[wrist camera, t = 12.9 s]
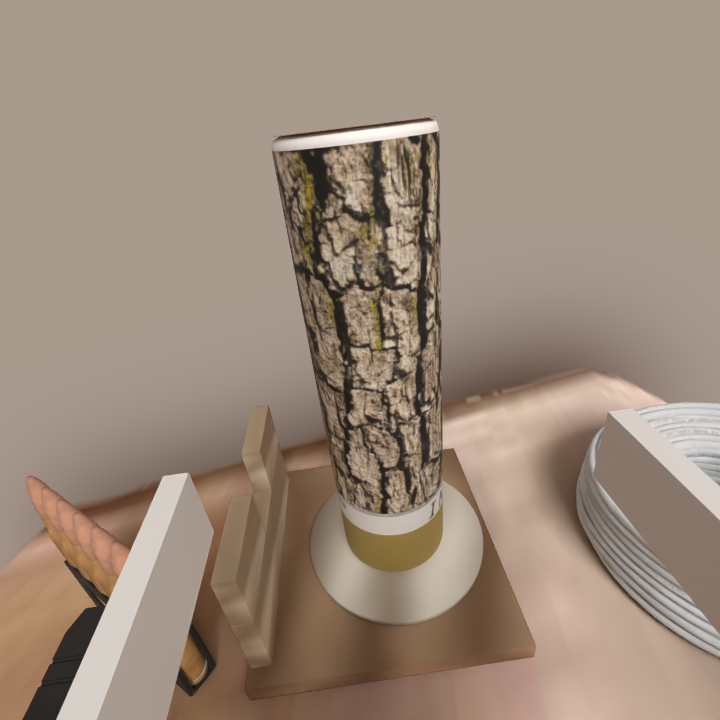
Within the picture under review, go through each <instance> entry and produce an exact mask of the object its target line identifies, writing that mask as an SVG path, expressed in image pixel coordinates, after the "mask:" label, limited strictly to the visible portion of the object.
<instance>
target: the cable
mask: <svg viewBox="0 0 720 720" xmlns="http://www.w3.org/2000/svg"><path fill="white" fill-rule="evenodd" d="M636 412H637V413H638V414H639V415H640V416H641V417H642V418H643V419H645V420H646V421H647V422H648V423H649V424H650V425H651V426H652V427H654V428H655V429H656V430H657V431H658V432H659V433H660V434H661V435H663V436H664V437H665V438H666V439H667V440H668V441H669V442H670V443H672V444H673V445H674V446H675V447H676V448H677V449H678V450H679V451H681V452H682V453H683V454H684V455H685V456H686V457H687V458H688V459H690V460H691V461H692V462H693V463H694V464H695V465H696V466H697V467H699V468H700V469H701V470H702V471H703V472H704V473H705V474H706V475H708V476H709V477H710V478H711V479H712V480H713V481H714V482H715V483H717V484H718V485H719V486H720V404H715V403H671V404H664V405H656V406H651V407H646V408H643V409H639V410H636ZM604 427H605V425H604V426H603V427H602V428H601V429H600V430H599V431H598V432H597V433H596V434H595V436H594V437H593V439H592V441H591V442H590V445H589V447H588V450H587V452H586V455H585V459H584V462H583V464H582V467H581V472H580V475H579V478H578V482H577V488H576V496H577V497H576V504H577V511H578V515H579V519H580V522H581V524H582V526H583V528H584V530H585V532H586V534H587V535H588V537H589V540H590V541H591V543H592V545H593V547H594V549H595V550H596V552H597V554H598V555H599V557H600V559H601V560H602V562H603V563H604V565H605V566H606V568H607V569H608V570H609V572H610V573H611V574H612V576H613V577H614V578H615V579H616V580H617V581H618V583H619V584H620V585H621V586H622V587H623V588H624V589H625V590H626V591H627V593H628V594H629V595H630V596H631V597H633V598H634V599H635V600H636V601H637V602H638V603H639V604H640V605H641V606H642V607H643V608H644V609H646V610H647V611H648V612H649V613H650V614H651V615H652V616H654V617H655V618H656V619H658V620H659V621H660V622H661V623H663V624H664V625H665V626H667V627H668V628H670V629H671V630H673V631H674V632H676V633H677V634H679V635H680V636H682V637H683V638H685V639H687V640H688V641H690V642H691V643H693V644H695V645H697V646H698V647H700V648H702V649H704V650H706V651H707V652H709V653H711V654H713V655H715V656H717V657H719V658H720V635H719V633H718V632H717V631H716V630H715V628H714V627H713V626H712V625H711V623H710V622H709V621H708V620H707V618H706V617H705V616H704V614H703V613H702V612H701V611H700V609H699V608H698V607H697V606H696V604H695V603H694V602H693V601H692V599H691V598H690V597H689V596H688V594H687V593H686V592H685V591H684V589H683V588H682V587H681V586H680V584H679V583H678V582H677V581H676V579H675V578H674V577H673V576H672V574H671V573H670V572H669V570H668V569H667V568H666V567H665V565H664V564H663V563H662V562H661V560H660V559H659V558H658V557H657V555H656V554H655V553H654V552H653V550H652V549H651V548H650V547H649V545H648V544H647V543H646V542H645V540H644V539H643V538H642V537H641V535H640V534H639V533H638V531H637V530H636V529H635V528H634V526H633V525H632V524H631V523H630V521H629V520H628V519H627V518H626V516H625V515H624V514H623V513H622V511H621V510H620V509H619V508H618V506H617V505H616V504H615V503H614V501H613V500H612V499H611V498H610V496H609V495H608V494H607V492H606V491H605V490H604V489H603V487H602V486H601V485H600V484H599V482H598V481H597V480H596V479H595V477H594V476H593V472H594V468H595V464H596V460H597V456H598V452H599V448H600V443H601V439H602V435H603V431H604Z"/></svg>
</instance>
